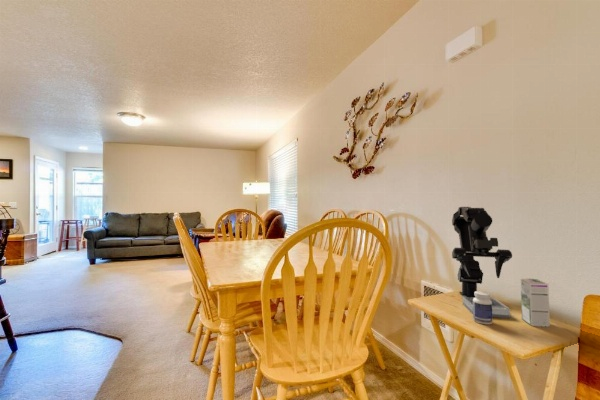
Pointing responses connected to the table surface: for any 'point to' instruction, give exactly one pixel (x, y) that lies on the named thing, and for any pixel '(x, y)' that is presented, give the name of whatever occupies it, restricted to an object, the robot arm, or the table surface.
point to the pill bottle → (482, 308)
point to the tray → (497, 307)
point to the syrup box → (535, 302)
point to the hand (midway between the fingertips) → (483, 276)
